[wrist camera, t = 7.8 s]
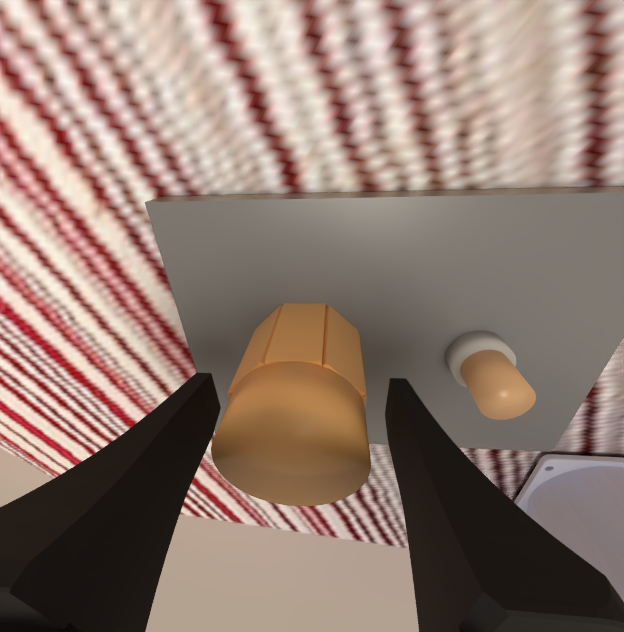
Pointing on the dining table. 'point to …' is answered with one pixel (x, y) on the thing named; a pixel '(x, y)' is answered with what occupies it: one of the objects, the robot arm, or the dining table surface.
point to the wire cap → (297, 411)
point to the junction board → (417, 294)
